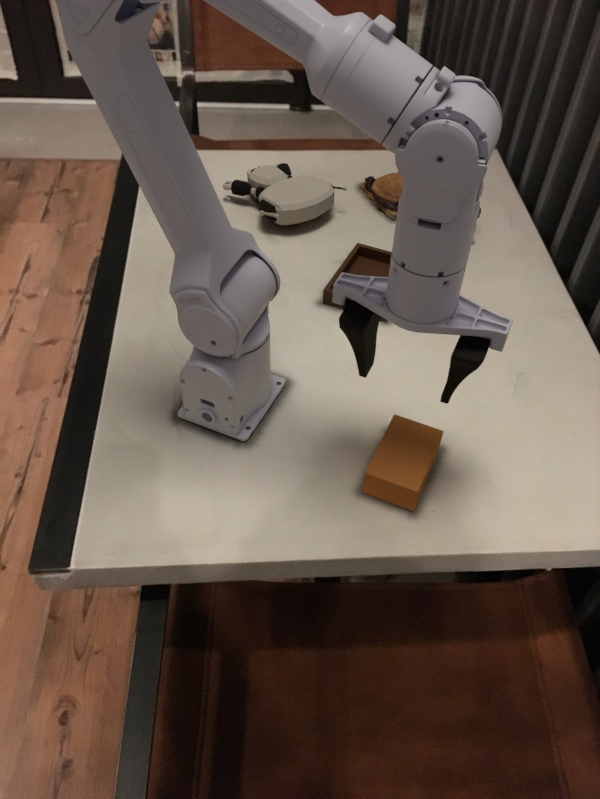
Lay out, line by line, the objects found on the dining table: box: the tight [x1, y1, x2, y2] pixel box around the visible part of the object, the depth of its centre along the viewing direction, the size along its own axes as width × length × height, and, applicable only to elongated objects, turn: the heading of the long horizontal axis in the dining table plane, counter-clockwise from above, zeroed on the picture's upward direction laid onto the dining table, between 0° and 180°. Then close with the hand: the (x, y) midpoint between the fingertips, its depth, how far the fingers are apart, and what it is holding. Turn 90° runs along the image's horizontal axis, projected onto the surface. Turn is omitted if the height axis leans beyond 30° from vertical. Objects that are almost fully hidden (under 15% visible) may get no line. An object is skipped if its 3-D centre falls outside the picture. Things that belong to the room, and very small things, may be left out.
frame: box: [322, 242, 392, 323], centre depth 85 cm, size 11×8×2 cm
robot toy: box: [222, 162, 348, 226], centre depth 97 cm, size 12×4×15 cm
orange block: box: [362, 414, 444, 512], centre depth 64 cm, size 8×5×3 cm, turn 155°
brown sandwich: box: [359, 171, 404, 220], centre depth 100 cm, size 11×8×4 cm
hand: (405, 382), depth 62 cm, fingers open, 7 cm apart
